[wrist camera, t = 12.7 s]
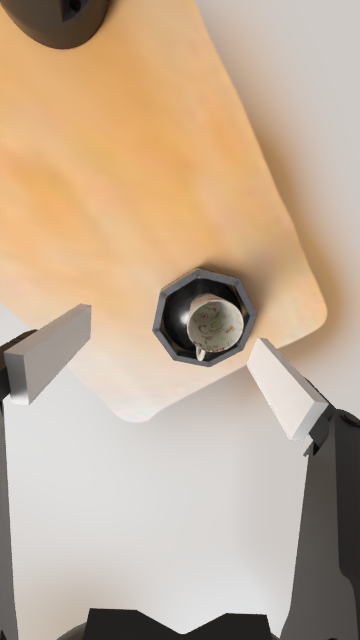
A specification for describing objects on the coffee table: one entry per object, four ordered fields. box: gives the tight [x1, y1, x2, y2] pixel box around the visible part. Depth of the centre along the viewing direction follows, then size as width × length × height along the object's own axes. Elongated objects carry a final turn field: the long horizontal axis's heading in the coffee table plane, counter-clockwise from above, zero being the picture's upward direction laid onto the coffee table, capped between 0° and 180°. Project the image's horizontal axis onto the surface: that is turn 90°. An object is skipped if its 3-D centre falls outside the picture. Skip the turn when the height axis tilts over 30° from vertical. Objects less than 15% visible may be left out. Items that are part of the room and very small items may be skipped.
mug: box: [187, 293, 244, 361], centre depth 33 cm, size 8×13×10 cm, turn 171°
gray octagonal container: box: [152, 268, 257, 367], centre depth 37 cm, size 18×18×3 cm
